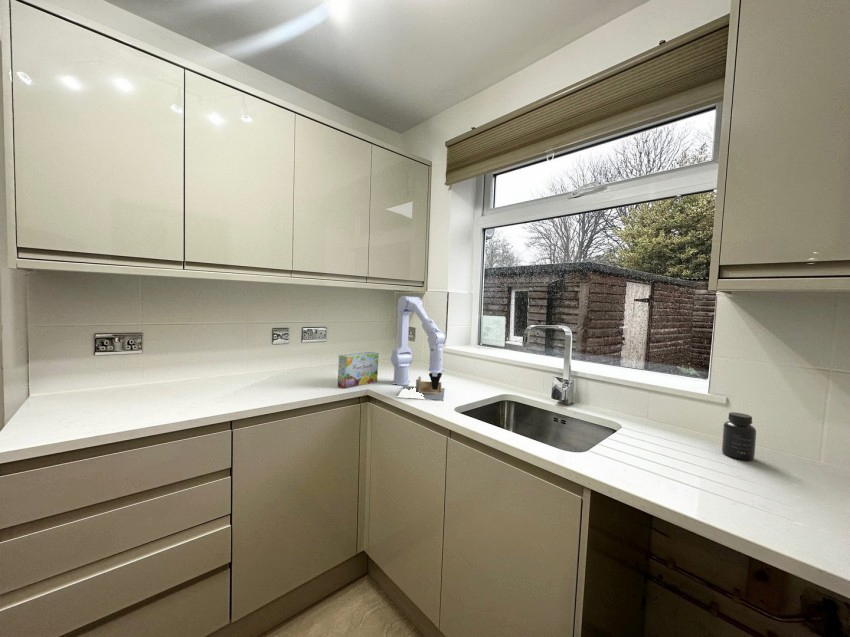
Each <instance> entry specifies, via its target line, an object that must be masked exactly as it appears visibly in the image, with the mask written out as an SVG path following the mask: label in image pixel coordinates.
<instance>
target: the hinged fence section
mask: <svg viewBox="0 0 850 637" xmlns="http://www.w3.org/2000/svg"><path fill="white" fill-rule="evenodd" d="M441 388H442V382H441V381H439V385H438V389H437V390H433V389H432V383H431V381H424V380H423V381H422V380H421V381H420V391H419V392H435V393H441Z"/></svg>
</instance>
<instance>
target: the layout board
mask: <svg viewBox="0 0 850 637" xmlns="http://www.w3.org/2000/svg"><path fill="white" fill-rule="evenodd" d="M420 381H422V377H421V376H418V379H417V378H416V379H415V386H410V385H402V387H403V389H405V388H406V389H408V390H410V389H411V388H412V389H413V388H414V387H415V388H416V392H419V391H420ZM419 393H422V394H423V395H424V396H423V397H424V398H425V399H432V400H431V401H438V400H442V402H443V401H444V397H445V387H443V388H442V387H441V393H435V392H419ZM421 396H422V395H421Z"/></svg>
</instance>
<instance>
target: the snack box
mask: <svg viewBox="0 0 850 637" xmlns="http://www.w3.org/2000/svg"><path fill="white" fill-rule="evenodd" d="M379 355H380V354H379V352H376V351H375V352H374V351H368V352H367V351H366V352H358V353H357V352H356V353H348V354H347V353H346V354H340V355H338V370H337V371H338V372H337V387H339V388H342V389H349V388H353V386H354V387H357V386H358V385H359V386H362V384H364V385H367V384H366V383H368V384H371V383H370V382H373V383H375V382H374V381H377V382H378V376H379V375H378V374H379V373H378V372H379V371H378V370H379Z"/></svg>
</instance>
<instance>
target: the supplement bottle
mask: <svg viewBox="0 0 850 637" xmlns="http://www.w3.org/2000/svg"><path fill="white" fill-rule="evenodd" d="M727 418H728V420H727V421H725V422H724V423H723V426H722V427H723V430H722V431H723V432H722V445H721V452H722V454H723V455H725V456H726V457H728V458H731V459H734V460H737V461H743V462H752V461H754V460H755V457H756V456H755V455H756V454H755V453H756V441H757V440H756V439H757V429H756V428H755V427H754V426H753V425H752V424H753V416H751V415H749V414H746V413H741V412H734V411H731V412H729V413H728V417H727Z"/></svg>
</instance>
